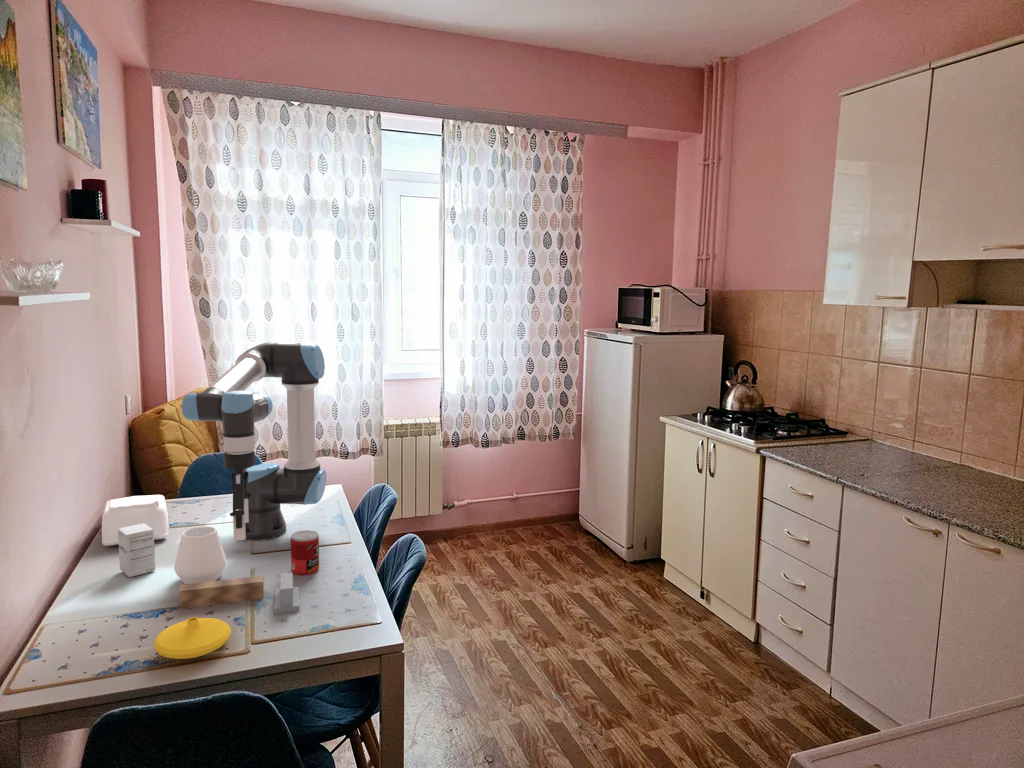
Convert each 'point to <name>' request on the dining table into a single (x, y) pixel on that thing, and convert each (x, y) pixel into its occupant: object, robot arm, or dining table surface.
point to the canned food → (304, 552)
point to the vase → (192, 638)
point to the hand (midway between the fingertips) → (241, 530)
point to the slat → (221, 592)
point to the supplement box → (136, 549)
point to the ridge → (286, 595)
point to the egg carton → (134, 516)
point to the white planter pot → (200, 556)
